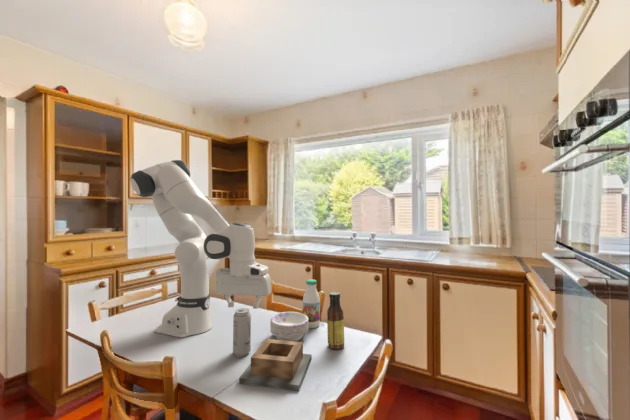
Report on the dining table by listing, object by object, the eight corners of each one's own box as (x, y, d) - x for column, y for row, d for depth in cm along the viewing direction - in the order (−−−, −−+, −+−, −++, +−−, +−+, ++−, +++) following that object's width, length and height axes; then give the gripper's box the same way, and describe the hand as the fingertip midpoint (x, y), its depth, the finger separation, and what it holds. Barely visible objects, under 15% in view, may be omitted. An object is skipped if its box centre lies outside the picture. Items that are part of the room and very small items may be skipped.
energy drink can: (249, 357, 99) (249, 313, 99) (231, 357, 99) (232, 313, 99) (251, 348, 105) (251, 307, 105) (234, 349, 105) (235, 308, 105)
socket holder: (239, 383, 84) (239, 360, 84) (261, 353, 102) (261, 335, 102) (299, 390, 81) (299, 367, 81) (311, 358, 98) (311, 339, 98)
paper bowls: (303, 348, 106) (303, 326, 106) (264, 344, 109) (264, 323, 109) (312, 331, 121) (312, 312, 121) (277, 328, 124) (277, 309, 124)
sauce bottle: (346, 344, 110) (346, 291, 110) (342, 351, 104) (342, 296, 104) (329, 341, 112) (329, 290, 112) (324, 348, 106) (325, 294, 106)
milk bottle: (302, 322, 131) (302, 278, 132) (318, 321, 132) (319, 278, 132) (302, 329, 124) (303, 282, 124) (320, 328, 124) (321, 282, 125)
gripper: (211, 269, 101) (211, 309, 101) (266, 270, 97) (267, 311, 97) (220, 266, 107) (220, 303, 107) (272, 267, 103) (273, 305, 103)
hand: (243, 307), depth 102 cm, fingers open, 8 cm apart
